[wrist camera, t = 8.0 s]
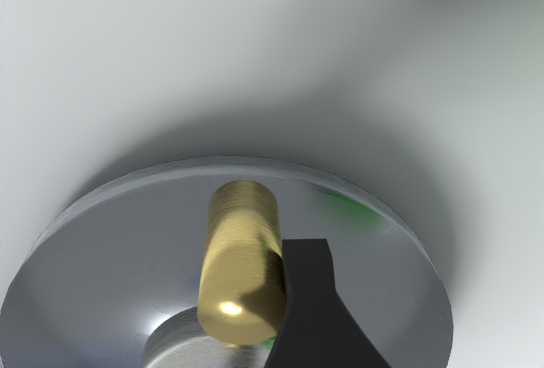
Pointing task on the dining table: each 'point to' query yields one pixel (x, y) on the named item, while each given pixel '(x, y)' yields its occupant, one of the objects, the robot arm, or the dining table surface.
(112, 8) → the dining table surface
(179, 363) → the cover
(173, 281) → the turntable
